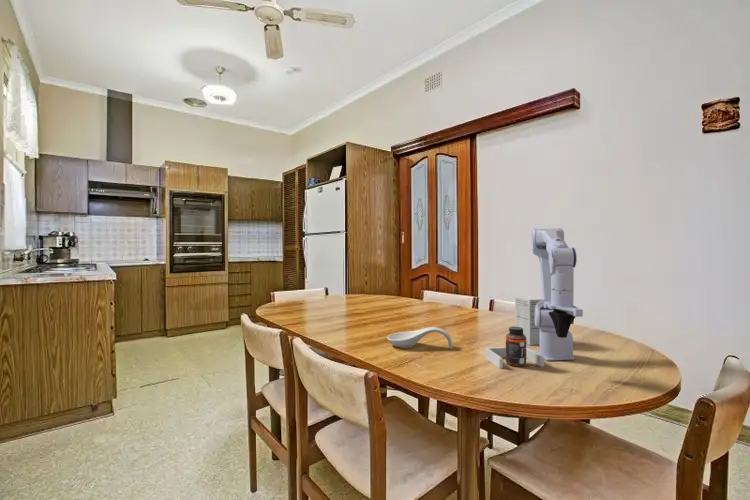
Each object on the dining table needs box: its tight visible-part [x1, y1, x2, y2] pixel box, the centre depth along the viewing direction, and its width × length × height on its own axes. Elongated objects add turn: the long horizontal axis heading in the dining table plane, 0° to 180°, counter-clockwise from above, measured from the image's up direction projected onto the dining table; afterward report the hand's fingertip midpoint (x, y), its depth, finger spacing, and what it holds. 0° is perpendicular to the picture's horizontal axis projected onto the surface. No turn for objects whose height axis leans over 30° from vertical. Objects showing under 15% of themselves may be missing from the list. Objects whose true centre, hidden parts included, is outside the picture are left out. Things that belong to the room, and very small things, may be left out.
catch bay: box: [483, 346, 545, 369], centre depth 111 cm, size 14×11×3 cm
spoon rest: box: [386, 326, 454, 350], centre depth 128 cm, size 24×12×7 cm, turn 81°
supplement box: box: [514, 295, 543, 346], centre depth 134 cm, size 10×9×17 cm
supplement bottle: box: [505, 326, 527, 368], centre depth 108 cm, size 6×6×11 cm
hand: (561, 337), depth 100 cm, fingers closed
